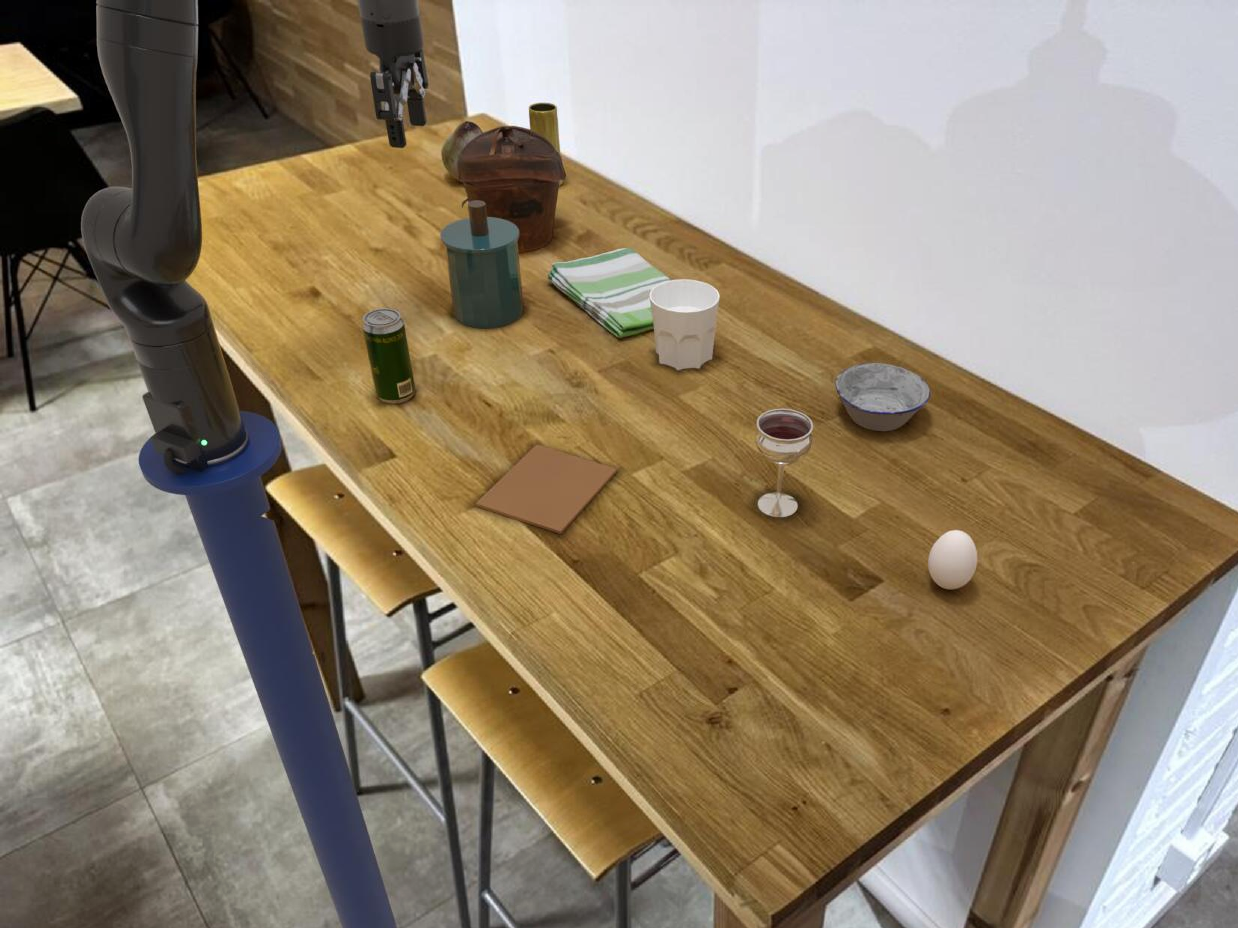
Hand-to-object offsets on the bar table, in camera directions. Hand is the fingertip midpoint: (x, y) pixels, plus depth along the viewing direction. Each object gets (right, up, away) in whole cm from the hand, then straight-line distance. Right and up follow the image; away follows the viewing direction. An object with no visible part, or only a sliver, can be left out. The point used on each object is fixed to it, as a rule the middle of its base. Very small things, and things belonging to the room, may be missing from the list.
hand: (408, 135), depth 151 cm
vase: (+10, +13, +58) cm, 60 cm away
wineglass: (+51, -53, -18) cm, 75 cm away
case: (+8, -4, +38) cm, 39 cm away
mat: (+22, -51, -17) cm, 58 cm away
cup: (+38, -30, +9) cm, 49 cm away
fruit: (-5, +13, +58) cm, 59 cm away
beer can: (-1, -37, -1) cm, 37 cm away
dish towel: (+29, -18, +22) cm, 41 cm away
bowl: (+66, -40, -1) cm, 77 cm away
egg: (+70, -62, -28) cm, 98 cm away
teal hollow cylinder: (+8, -21, +17) cm, 28 cm away
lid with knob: (+8, -12, +9) cm, 17 cm away
